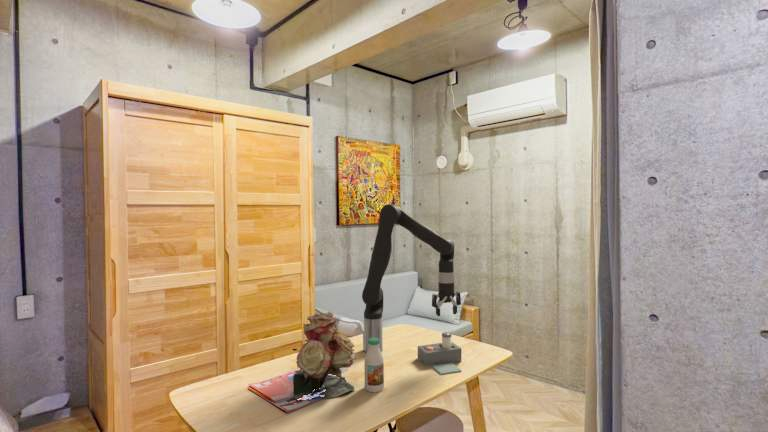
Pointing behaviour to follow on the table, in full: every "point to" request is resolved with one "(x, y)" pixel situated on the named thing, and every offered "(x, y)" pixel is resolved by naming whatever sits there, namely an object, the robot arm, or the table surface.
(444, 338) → the cartridge
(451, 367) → the mat
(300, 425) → the table surface
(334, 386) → the rose bouquet
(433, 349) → the orange egg
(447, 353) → the housing
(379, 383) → the milk bottle
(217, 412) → the table surface
